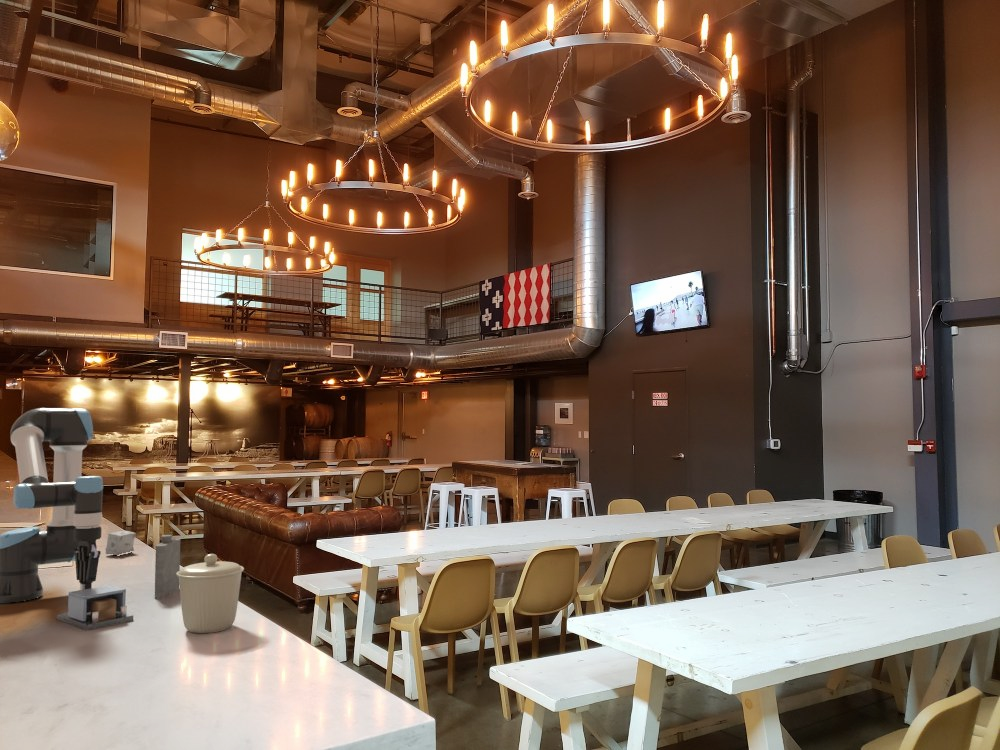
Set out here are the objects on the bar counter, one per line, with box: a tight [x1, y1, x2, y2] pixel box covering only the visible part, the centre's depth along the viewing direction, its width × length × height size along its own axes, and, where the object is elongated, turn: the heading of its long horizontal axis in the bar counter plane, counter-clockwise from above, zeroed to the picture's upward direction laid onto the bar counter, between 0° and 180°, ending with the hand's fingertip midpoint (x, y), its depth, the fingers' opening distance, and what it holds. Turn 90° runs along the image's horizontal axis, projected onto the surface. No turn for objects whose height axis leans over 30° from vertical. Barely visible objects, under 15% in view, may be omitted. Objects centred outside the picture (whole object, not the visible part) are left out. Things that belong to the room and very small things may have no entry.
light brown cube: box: [91, 598, 116, 621], centre depth 215 cm, size 5×5×5 cm
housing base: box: [56, 605, 134, 631], centre depth 218 cm, size 20×13×4 cm, turn 53°
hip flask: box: [154, 534, 181, 599], centre depth 254 cm, size 16×4×20 cm, turn 3°
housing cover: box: [67, 584, 127, 621], centre depth 218 cm, size 10×12×7 cm
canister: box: [176, 553, 245, 634], centre depth 208 cm, size 18×18×21 cm
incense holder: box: [105, 530, 137, 556], centre depth 331 cm, size 10×8×10 cm
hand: (85, 604), depth 222 cm, fingers closed
